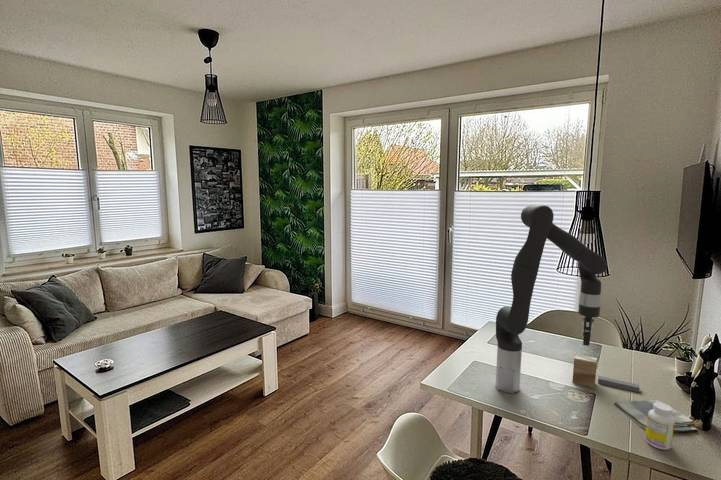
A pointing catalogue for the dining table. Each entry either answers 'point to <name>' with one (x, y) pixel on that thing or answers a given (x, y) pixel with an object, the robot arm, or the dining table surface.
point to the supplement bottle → (660, 426)
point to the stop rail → (618, 384)
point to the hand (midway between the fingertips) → (586, 341)
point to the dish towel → (641, 409)
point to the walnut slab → (584, 370)
